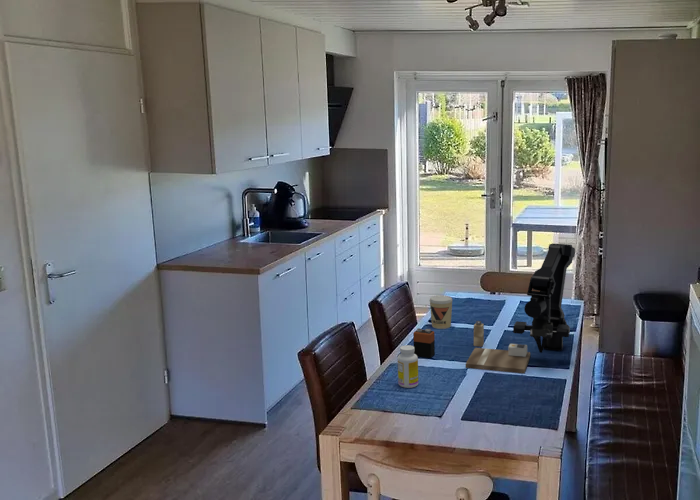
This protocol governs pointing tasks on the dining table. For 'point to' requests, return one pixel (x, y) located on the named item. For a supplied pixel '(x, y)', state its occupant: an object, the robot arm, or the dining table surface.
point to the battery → (424, 343)
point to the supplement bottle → (407, 367)
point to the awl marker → (478, 334)
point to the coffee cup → (441, 311)
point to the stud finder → (517, 350)
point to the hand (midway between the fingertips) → (541, 352)
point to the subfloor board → (497, 360)
